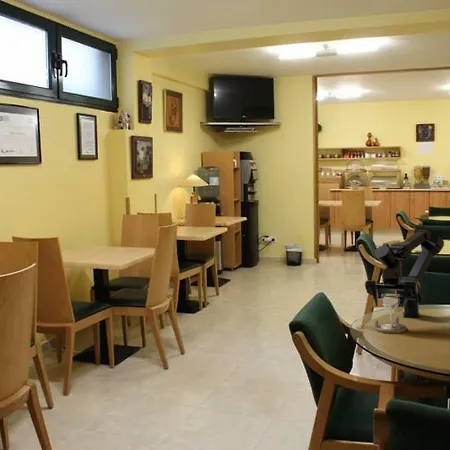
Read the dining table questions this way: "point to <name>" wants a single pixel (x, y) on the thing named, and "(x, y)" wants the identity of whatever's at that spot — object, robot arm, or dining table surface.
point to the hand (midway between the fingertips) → (389, 306)
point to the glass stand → (383, 329)
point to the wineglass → (390, 304)
